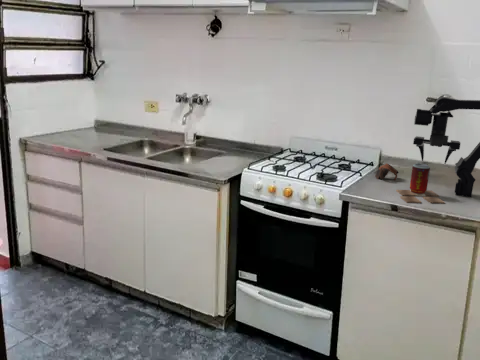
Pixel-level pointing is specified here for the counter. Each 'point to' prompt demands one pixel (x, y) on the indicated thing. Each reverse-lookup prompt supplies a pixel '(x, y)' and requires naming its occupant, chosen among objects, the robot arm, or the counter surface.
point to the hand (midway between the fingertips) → (433, 162)
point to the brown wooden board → (409, 193)
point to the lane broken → (414, 200)
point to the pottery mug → (385, 171)
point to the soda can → (419, 178)
